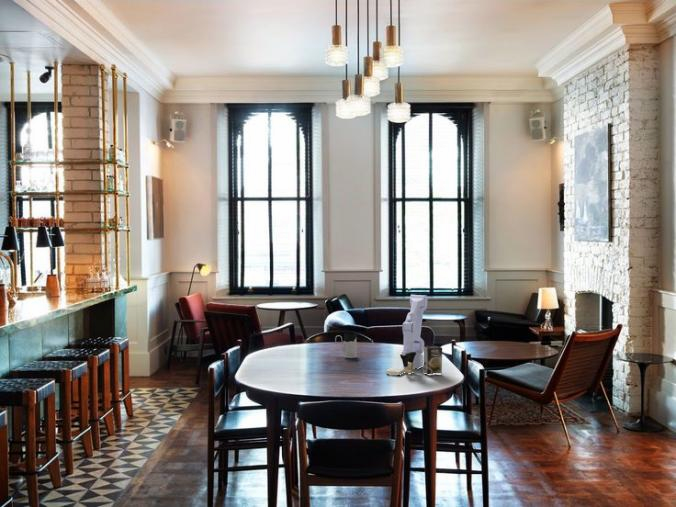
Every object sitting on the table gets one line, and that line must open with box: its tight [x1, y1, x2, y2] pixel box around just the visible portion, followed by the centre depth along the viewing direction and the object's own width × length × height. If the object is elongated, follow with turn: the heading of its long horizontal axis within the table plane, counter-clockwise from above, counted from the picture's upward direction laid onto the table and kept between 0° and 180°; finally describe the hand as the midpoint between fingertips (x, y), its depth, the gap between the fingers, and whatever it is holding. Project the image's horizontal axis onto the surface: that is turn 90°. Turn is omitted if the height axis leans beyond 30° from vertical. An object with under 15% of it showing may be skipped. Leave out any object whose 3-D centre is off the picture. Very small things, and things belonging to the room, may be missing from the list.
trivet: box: [385, 367, 404, 376], centre depth 385 cm, size 8×8×3 cm
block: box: [402, 362, 415, 373], centre depth 388 cm, size 4×4×6 cm
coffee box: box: [422, 345, 443, 374], centre depth 384 cm, size 9×6×16 cm
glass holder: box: [334, 332, 358, 359], centre depth 434 cm, size 9×14×15 cm, turn 89°
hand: (408, 365), depth 387 cm, fingers open, 7 cm apart
